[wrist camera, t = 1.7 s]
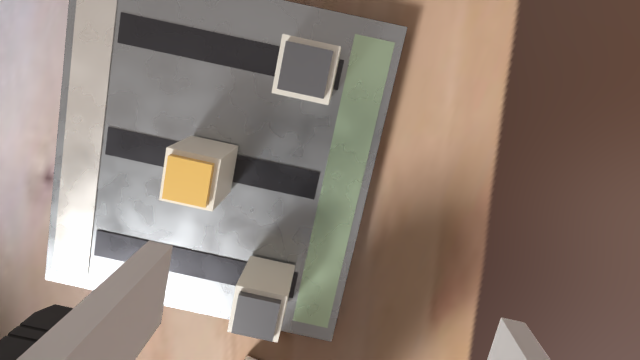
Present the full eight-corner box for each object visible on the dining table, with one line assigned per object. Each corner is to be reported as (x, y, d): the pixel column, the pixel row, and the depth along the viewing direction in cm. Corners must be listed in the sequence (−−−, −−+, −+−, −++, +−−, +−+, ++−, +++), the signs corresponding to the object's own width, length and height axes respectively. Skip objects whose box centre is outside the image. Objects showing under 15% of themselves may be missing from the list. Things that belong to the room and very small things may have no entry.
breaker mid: (184, 181, 32) (155, 202, 27) (191, 135, 31) (163, 148, 26) (230, 191, 32) (209, 214, 27) (238, 145, 31) (218, 160, 26)
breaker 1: (242, 296, 33) (225, 336, 29) (250, 255, 33) (233, 289, 28) (286, 306, 33) (276, 347, 29) (295, 265, 33) (286, 300, 28)
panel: (57, 270, 36) (44, 280, 34) (85, -41, 31) (72, -46, 29) (332, 330, 36) (331, 342, 34) (404, 28, 31) (407, 26, 29)
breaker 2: (282, 88, 30) (270, 93, 25) (291, 38, 29) (281, 33, 25) (330, 99, 30) (327, 105, 25) (341, 48, 29) (340, 45, 25)
